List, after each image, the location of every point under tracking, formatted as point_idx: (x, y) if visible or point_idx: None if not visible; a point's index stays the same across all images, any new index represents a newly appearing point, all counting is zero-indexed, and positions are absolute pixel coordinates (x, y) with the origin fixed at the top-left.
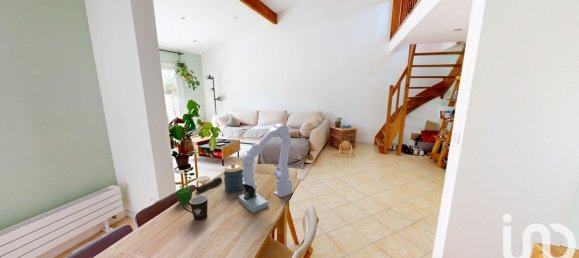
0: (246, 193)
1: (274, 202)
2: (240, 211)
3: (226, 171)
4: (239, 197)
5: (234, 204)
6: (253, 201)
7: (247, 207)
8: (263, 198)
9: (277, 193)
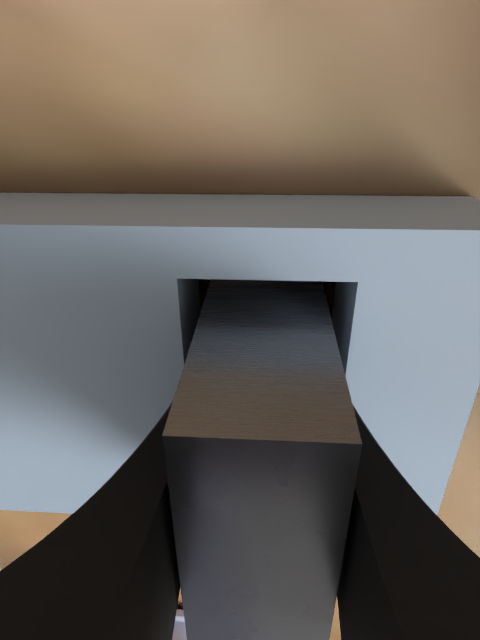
0: (174, 410)
1: (38, 523)
2: (32, 16)
3: None
4: (452, 225)
5: (412, 34)
6: (39, 363)
7: (49, 199)
8: (54, 509)
9: (175, 630)
